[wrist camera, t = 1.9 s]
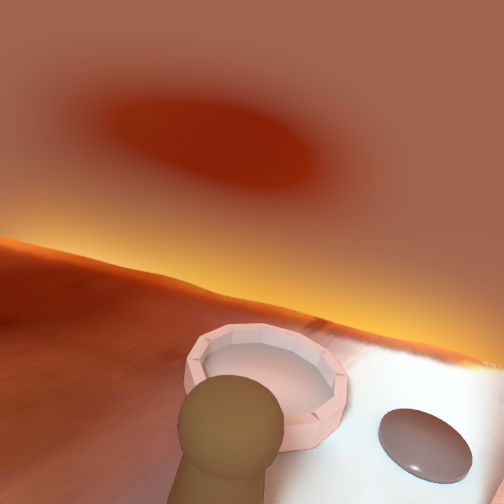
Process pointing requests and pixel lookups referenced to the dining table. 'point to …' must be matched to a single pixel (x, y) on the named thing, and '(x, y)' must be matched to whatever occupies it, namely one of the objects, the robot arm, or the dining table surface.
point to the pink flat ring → (277, 376)
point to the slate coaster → (425, 446)
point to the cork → (226, 441)
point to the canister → (499, 494)
